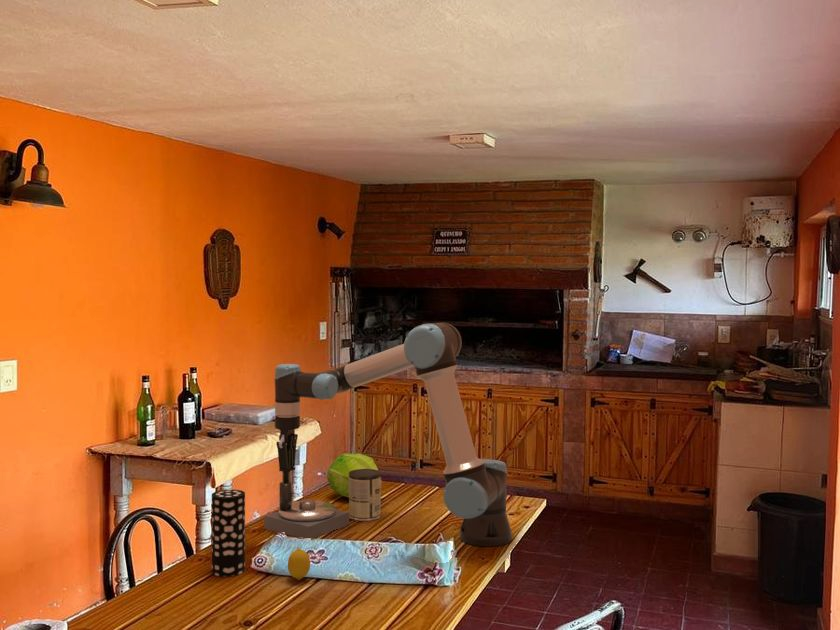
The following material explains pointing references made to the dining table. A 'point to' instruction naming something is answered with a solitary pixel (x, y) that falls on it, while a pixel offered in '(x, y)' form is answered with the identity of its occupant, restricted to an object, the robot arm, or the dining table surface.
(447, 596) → the dining table surface
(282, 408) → the robot arm
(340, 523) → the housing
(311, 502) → the peg on round base
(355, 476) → the coffee can
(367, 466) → the lettuce
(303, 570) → the lemon
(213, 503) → the spotted tube
